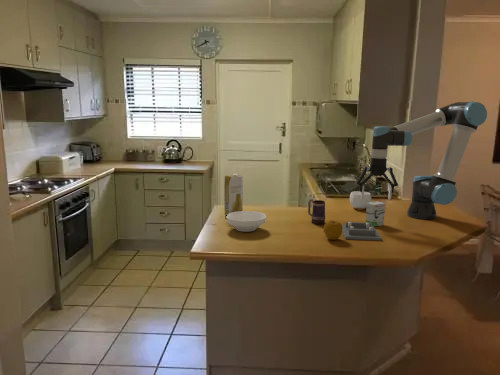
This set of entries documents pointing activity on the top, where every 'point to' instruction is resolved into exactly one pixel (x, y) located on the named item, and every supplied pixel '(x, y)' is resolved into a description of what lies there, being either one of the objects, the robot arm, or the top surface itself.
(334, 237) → the apple
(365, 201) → the cup
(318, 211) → the mug
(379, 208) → the ink box
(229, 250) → the top surface
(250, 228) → the bowl
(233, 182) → the juice carton
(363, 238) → the tray
